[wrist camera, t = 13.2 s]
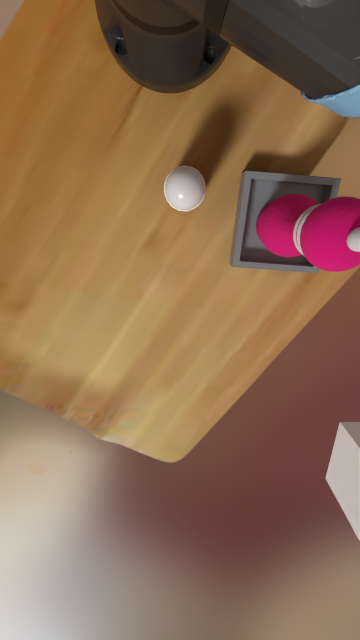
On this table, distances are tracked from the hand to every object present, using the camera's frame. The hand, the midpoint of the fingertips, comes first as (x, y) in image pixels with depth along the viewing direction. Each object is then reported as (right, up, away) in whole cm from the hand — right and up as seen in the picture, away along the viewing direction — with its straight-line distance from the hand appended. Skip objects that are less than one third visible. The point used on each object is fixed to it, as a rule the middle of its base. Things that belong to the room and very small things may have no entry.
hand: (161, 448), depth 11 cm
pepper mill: (+14, +18, +29) cm, 37 cm away
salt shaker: (+1, +22, +28) cm, 35 cm away
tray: (+14, +18, +29) cm, 37 cm away
